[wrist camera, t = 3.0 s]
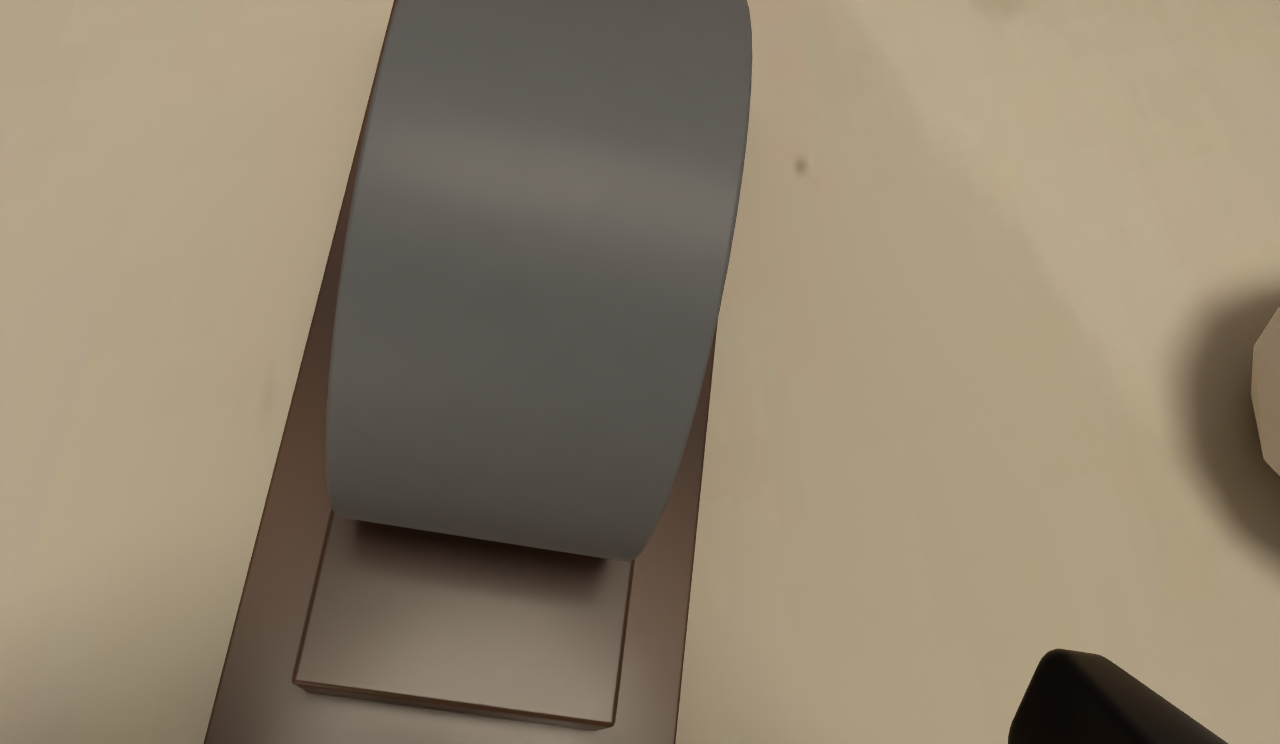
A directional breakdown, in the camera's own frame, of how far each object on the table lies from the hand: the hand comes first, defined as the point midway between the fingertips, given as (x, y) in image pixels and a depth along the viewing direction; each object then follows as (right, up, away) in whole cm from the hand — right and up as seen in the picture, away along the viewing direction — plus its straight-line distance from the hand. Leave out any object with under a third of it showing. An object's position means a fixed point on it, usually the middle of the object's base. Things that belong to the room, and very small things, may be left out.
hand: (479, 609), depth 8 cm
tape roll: (-1, +2, +13) cm, 13 cm away
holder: (-1, +2, +14) cm, 14 cm away
